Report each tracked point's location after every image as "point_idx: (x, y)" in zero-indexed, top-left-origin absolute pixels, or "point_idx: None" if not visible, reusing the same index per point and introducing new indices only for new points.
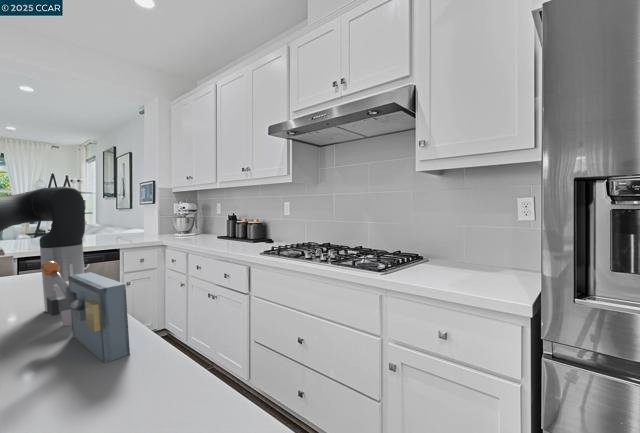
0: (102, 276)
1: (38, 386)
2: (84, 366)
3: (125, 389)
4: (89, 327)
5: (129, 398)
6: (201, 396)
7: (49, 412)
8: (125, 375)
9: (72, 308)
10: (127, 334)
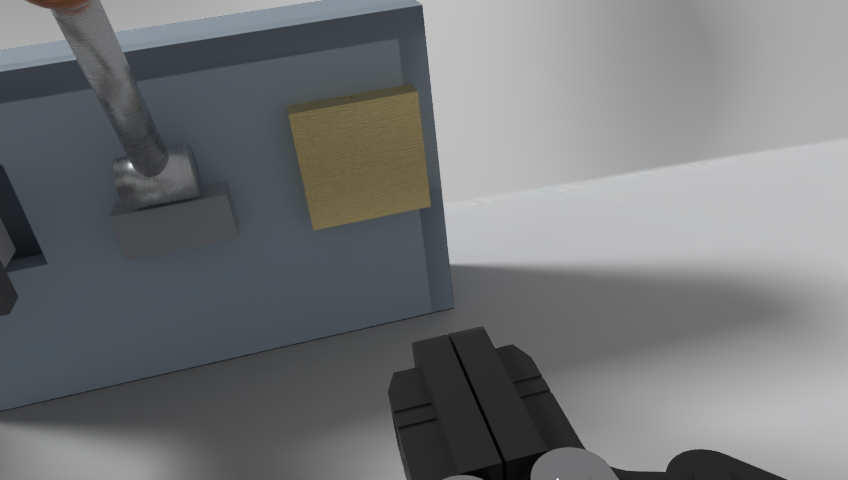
0: None
1: None
2: None
3: (713, 262)
4: (356, 219)
5: (780, 254)
6: (827, 169)
7: (797, 396)
8: (606, 266)
9: (9, 256)
10: None
